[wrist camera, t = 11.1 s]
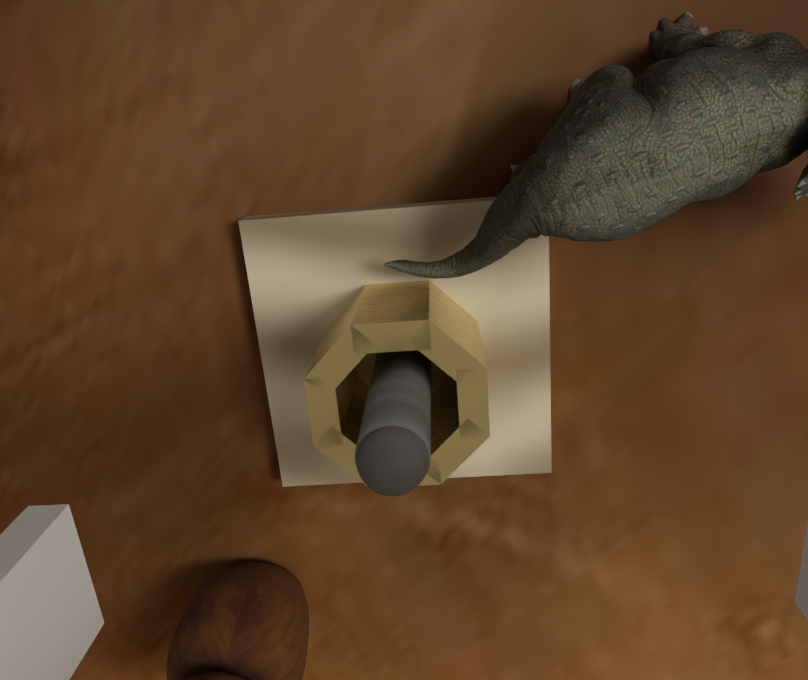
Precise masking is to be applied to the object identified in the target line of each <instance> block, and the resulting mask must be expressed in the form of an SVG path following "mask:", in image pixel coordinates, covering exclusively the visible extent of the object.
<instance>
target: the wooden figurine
mask: <svg viewBox="0 0 808 680" xmlns="http://www.w3.org/2000/svg"><path fill="white" fill-rule="evenodd" d="M308 635H309V614H308V604H307V601H306V598H305V594H304V591H303V588H302V586H301V583H300V582H299V581H298V579H297V578H296V577H295V576H294V575H293V574H292V573H291V572H289V571H287V570H285V569H283V568H280V567H278V566H276V565H271V564H267V563H263V562H244V563H239V564H234V565H231V566H229V567H228V568H226V569H224V570H223V571H222V572H220V573H219V574H218V575H216V576H215V577H213V578H212V579H211V580H210V581H208V582H207V583H206V584H205V585H204V586H202V587H201V588H200V589H199V590H198V592H197V593H196V594H195V595H194V597H193V598H192V599H191V600H190V602H189V604H188V606H187V608H186V610H185V612H184V614H183V616H182V618H181V620H180V623H179V625H178V628H177V630H176V632H175V635H174V637H173V640H172V642H171V644H170V647H169V653H168V660H167V680H302V677H303V672H304V668H305V663H306V655H307V647H308Z"/></svg>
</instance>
